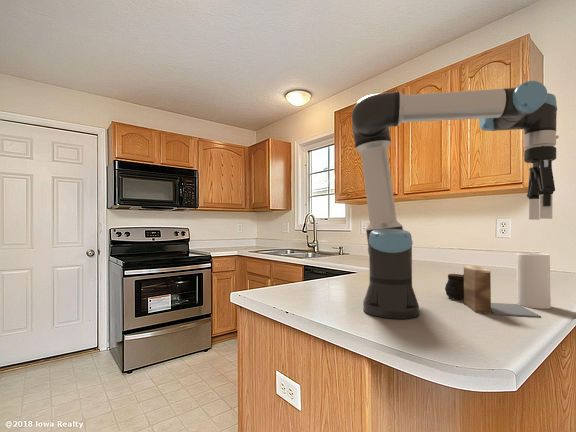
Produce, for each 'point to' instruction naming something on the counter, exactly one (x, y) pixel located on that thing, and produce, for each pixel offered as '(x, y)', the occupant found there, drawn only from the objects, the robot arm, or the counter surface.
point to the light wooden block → (477, 289)
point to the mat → (511, 310)
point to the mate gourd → (455, 286)
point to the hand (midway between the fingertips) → (539, 219)
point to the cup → (533, 280)
